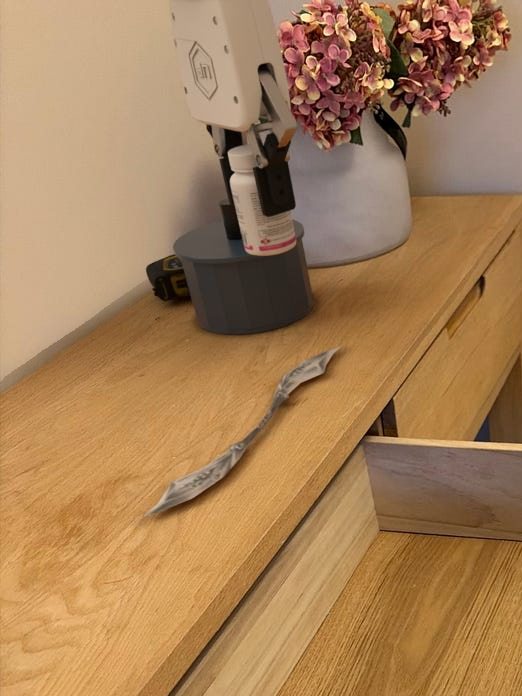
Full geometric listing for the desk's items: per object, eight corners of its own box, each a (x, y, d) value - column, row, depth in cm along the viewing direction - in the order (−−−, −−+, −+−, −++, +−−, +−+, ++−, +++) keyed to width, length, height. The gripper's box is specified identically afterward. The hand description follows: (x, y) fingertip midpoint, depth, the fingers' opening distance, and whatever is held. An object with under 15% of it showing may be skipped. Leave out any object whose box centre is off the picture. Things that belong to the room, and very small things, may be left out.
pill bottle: (306, 240, 91) (287, 141, 86) (282, 258, 88) (261, 156, 83) (261, 238, 93) (240, 141, 87) (235, 256, 89) (212, 155, 84)
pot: (177, 316, 108) (157, 246, 104) (273, 282, 114) (258, 215, 110) (236, 344, 101) (217, 271, 96) (335, 306, 107) (323, 235, 102)
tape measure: (151, 290, 115) (141, 258, 113) (208, 278, 117) (200, 246, 115) (158, 309, 110) (148, 276, 108) (218, 296, 112) (210, 263, 110)
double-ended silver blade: (139, 519, 75) (196, 524, 74) (136, 512, 75) (194, 517, 73) (302, 347, 98) (348, 348, 97) (301, 341, 98) (347, 342, 97)
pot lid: (152, 253, 104) (139, 207, 101) (261, 218, 110) (252, 175, 108) (217, 279, 96) (205, 231, 93) (331, 241, 102) (323, 194, 99)
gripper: (119, -33, 80) (180, 203, 91) (225, -29, 70) (279, 236, 81) (200, -46, 83) (249, 182, 95) (312, -44, 73) (352, 212, 85)
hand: (262, 205), depth 88 cm, fingers closed on pill bottle, 4 cm apart
